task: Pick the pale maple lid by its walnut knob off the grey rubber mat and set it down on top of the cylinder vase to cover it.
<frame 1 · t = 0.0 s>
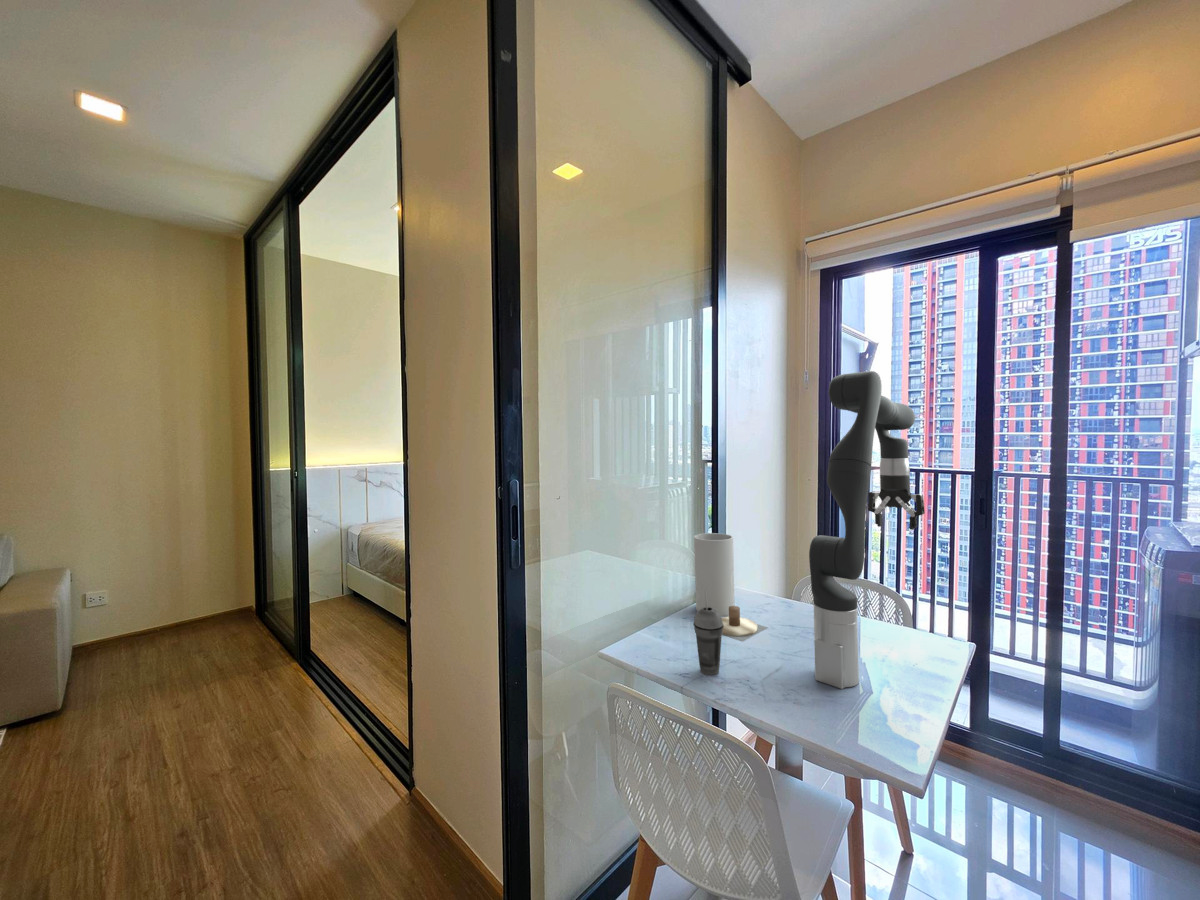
hand: (895, 527, 142), 29 cm above the table, fingers open, 8 cm apart
cylinder vase: (715, 612, 158), on the table
lid: (734, 627, 142), point 1 cm above the table, touching mat
beverage cup: (709, 672, 117), on the table
mat: (734, 629, 142), on the table
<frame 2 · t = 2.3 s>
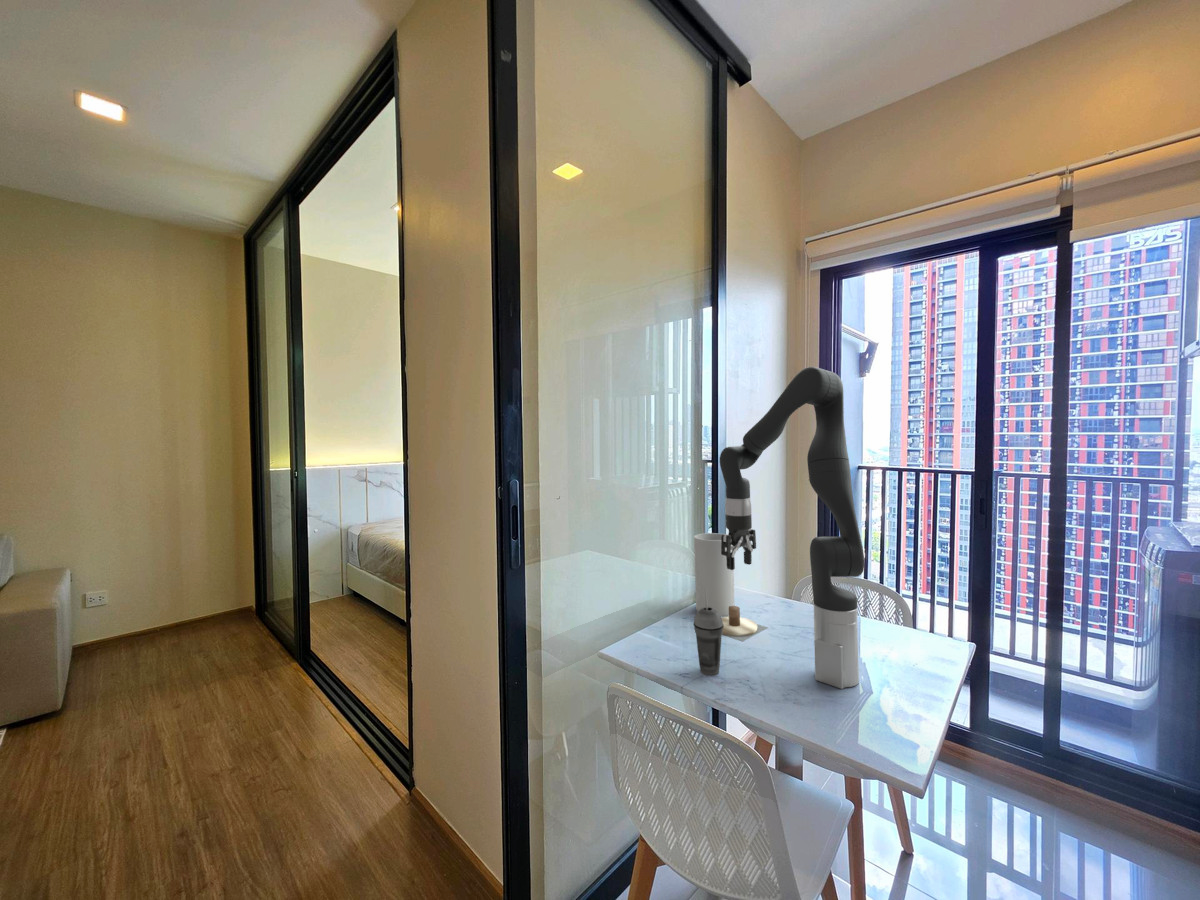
hand: (739, 566, 142), 19 cm above the table, fingers open, 8 cm apart
nothing on the table moved.
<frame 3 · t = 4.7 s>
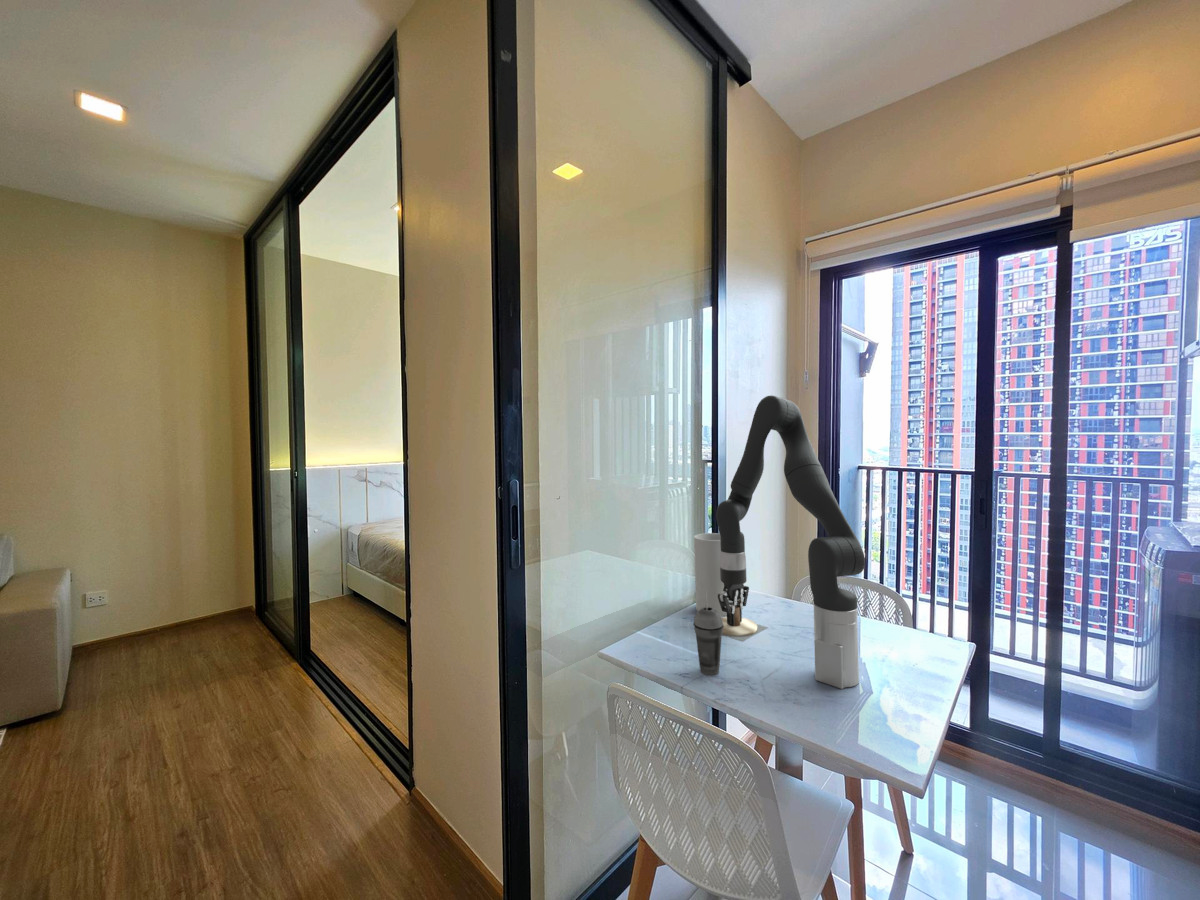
hand: (734, 623, 142), 2 cm above the table, fingers closed on lid, 3 cm apart
lid: (734, 627, 142), point 1 cm above the table, touching gripper, mat
everything else where it was.
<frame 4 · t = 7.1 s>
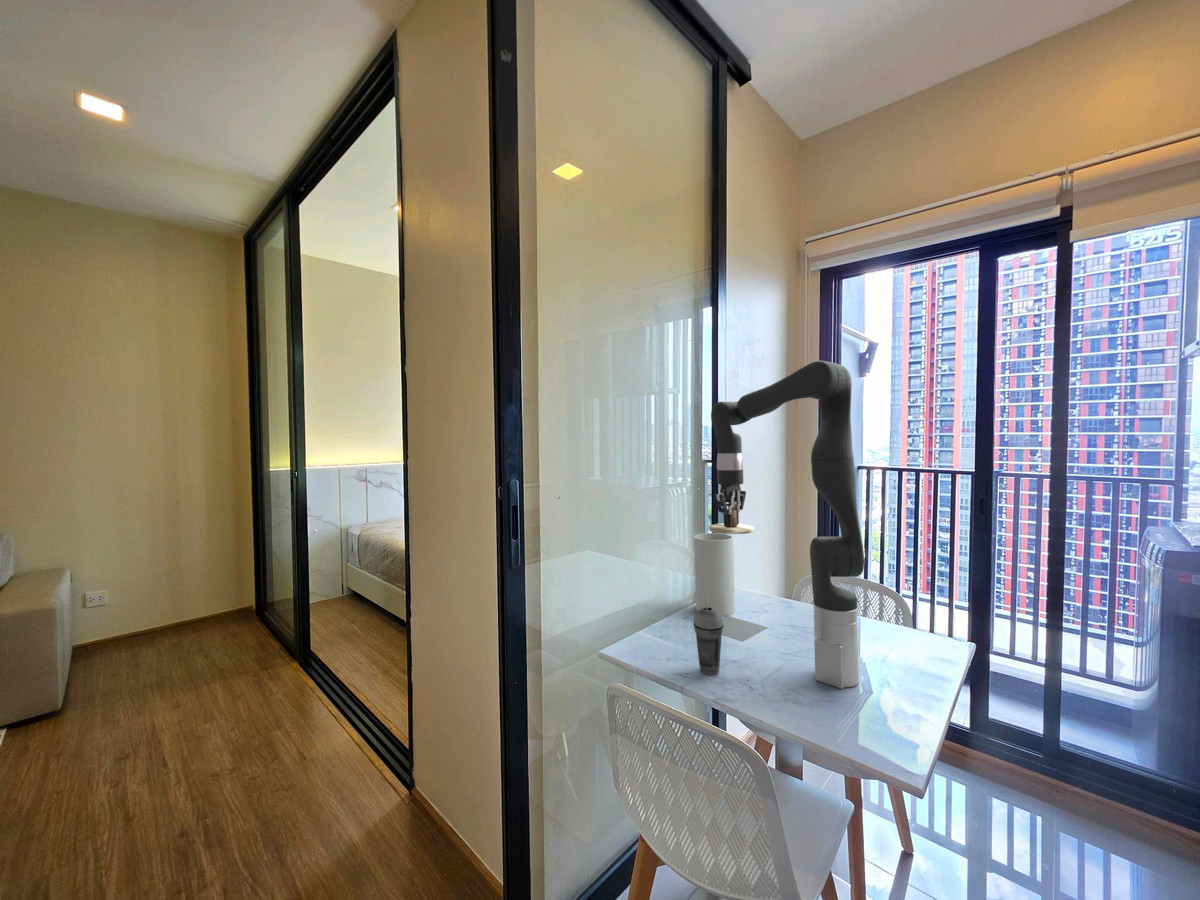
hand: (731, 525, 142), 31 cm above the table, fingers closed on lid, 3 cm apart
lid: (731, 530, 142), point 30 cm above the table, touching gripper
everything else where it was.
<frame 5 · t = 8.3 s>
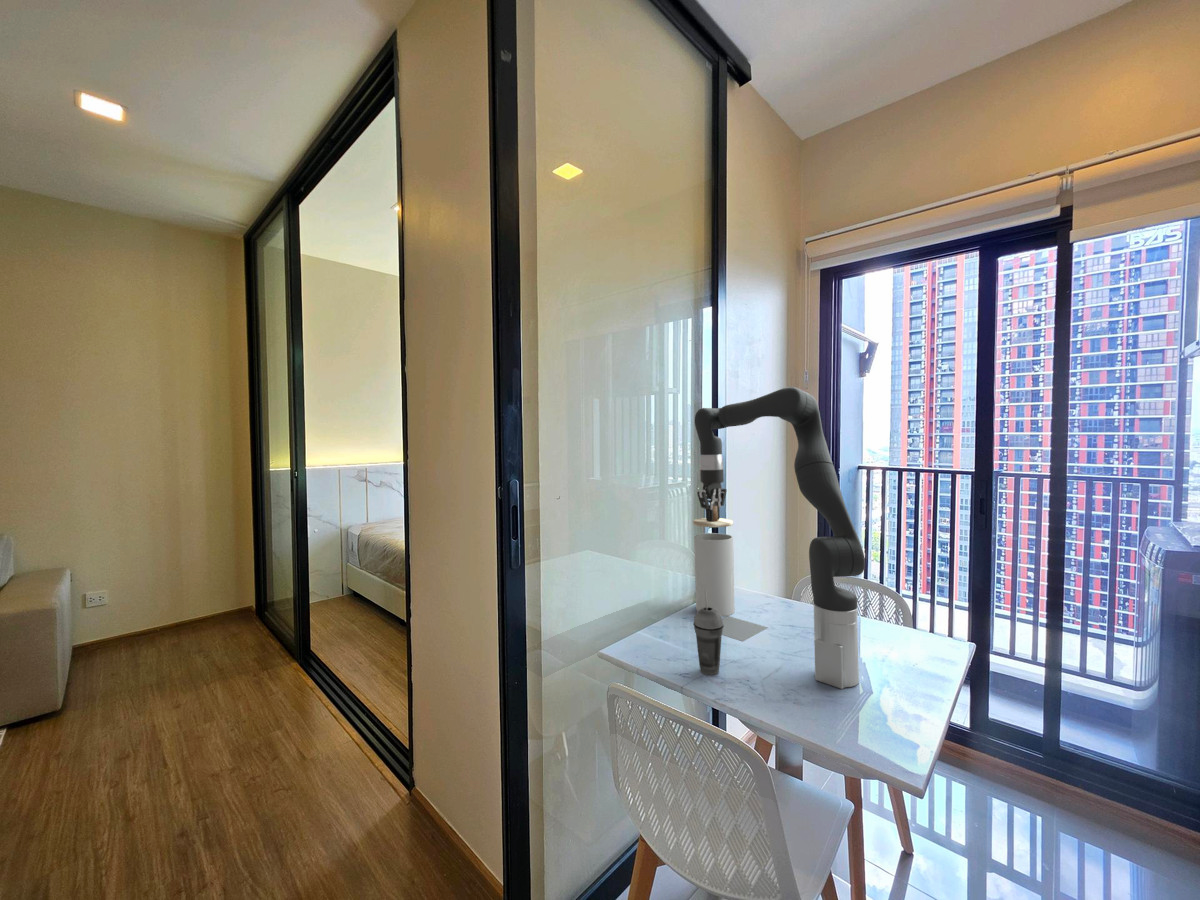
hand: (713, 519, 158), 31 cm above the table, fingers closed on lid, 3 cm apart
lid: (712, 523, 158), point 29 cm above the table, touching gripper
everything else where it was.
when the fingers open (28 cm above the table, at t = 9.2 s): lid drops 1 cm, resting on cylinder vase.
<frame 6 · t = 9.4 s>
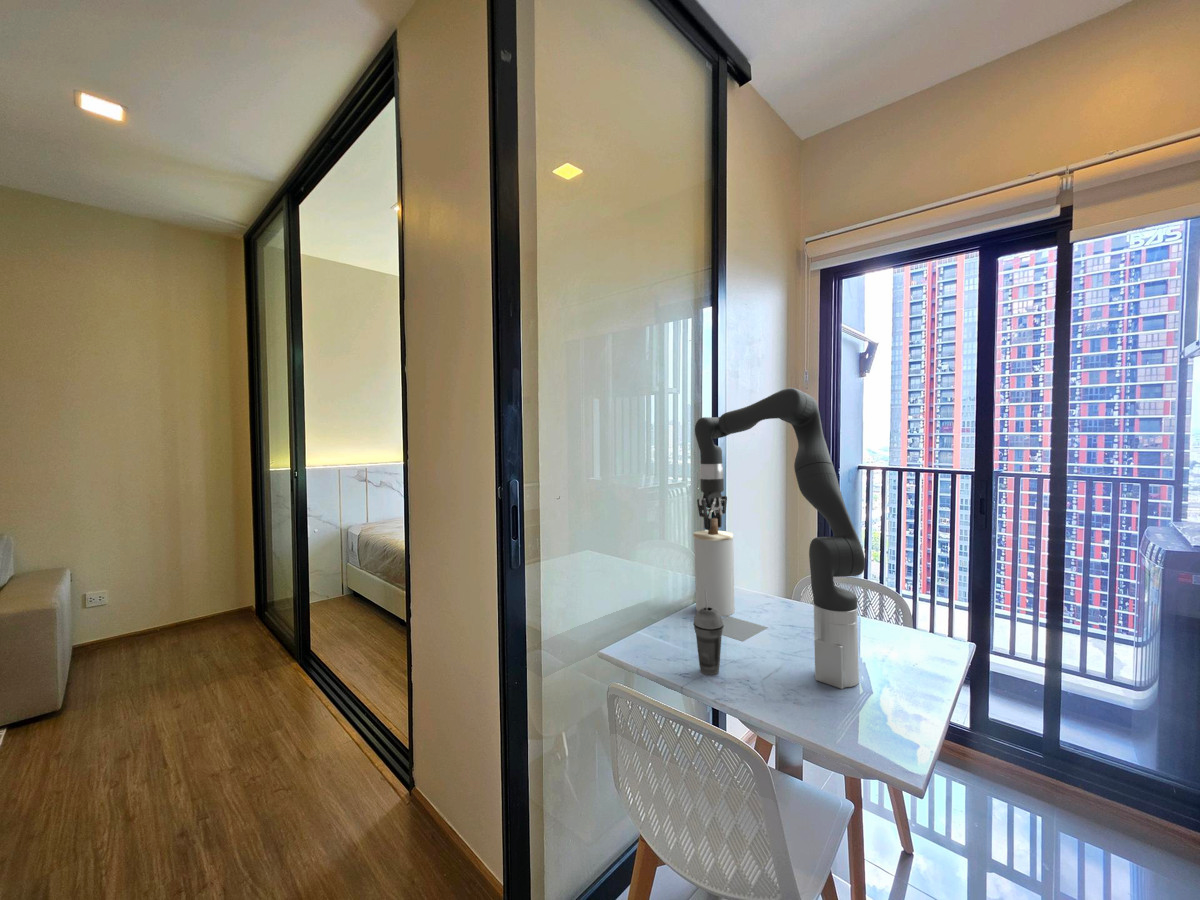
hand: (713, 528, 158), 28 cm above the table, fingers open, 5 cm apart
cylinder vase: (715, 612, 158), on the table, touching lid
lid: (713, 536, 158), point 25 cm above the table, touching cylinder vase
everything else where it was.
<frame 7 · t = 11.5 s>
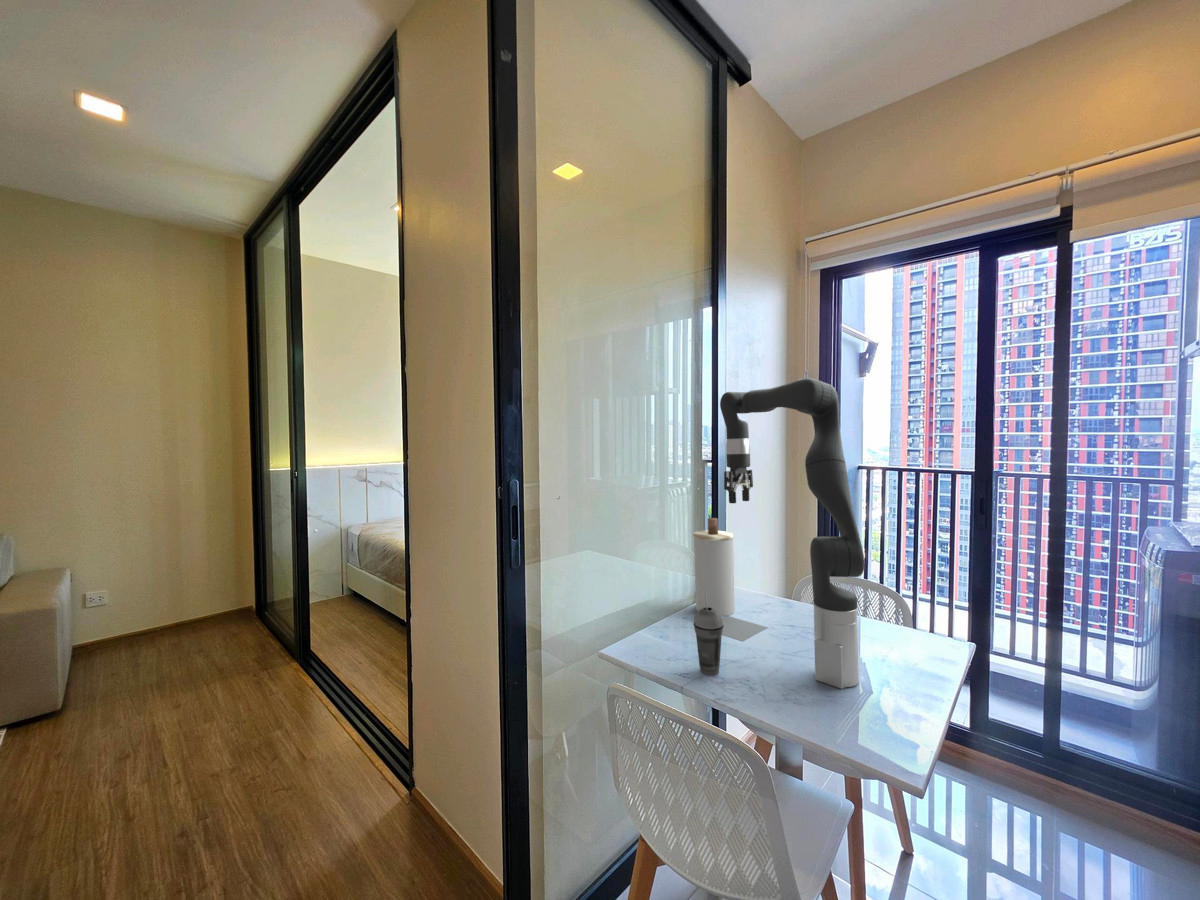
hand: (739, 502, 156), 36 cm above the table, fingers open, 8 cm apart
nothing on the table moved.
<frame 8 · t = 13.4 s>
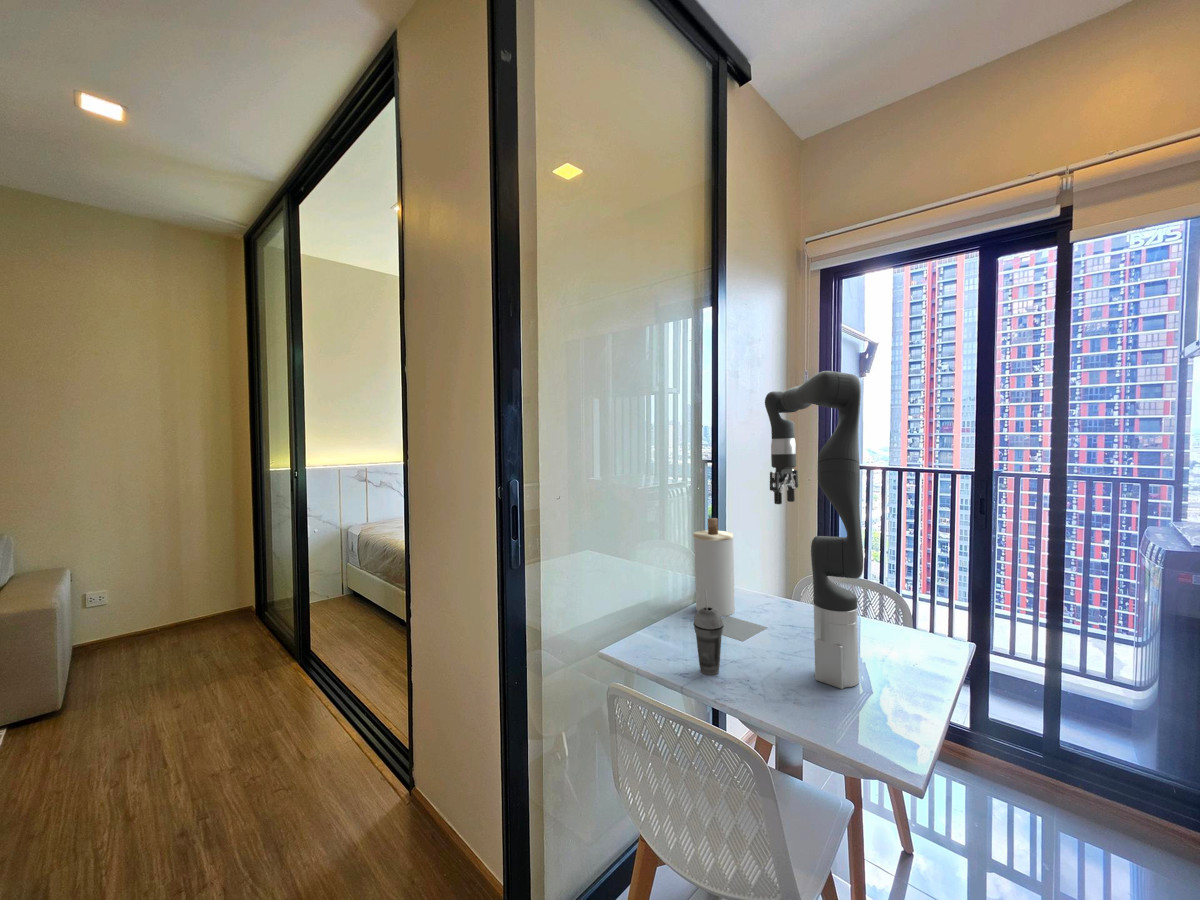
hand: (784, 502, 154), 36 cm above the table, fingers open, 8 cm apart
nothing on the table moved.
at the end: lid 0.1 cm from the cylinder vase (horizontally); lid point 25.0 cm above the table; lid tilted 0° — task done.
